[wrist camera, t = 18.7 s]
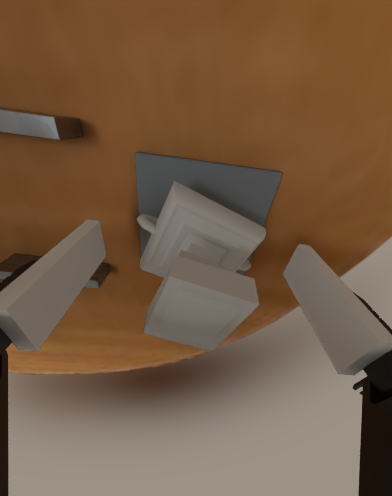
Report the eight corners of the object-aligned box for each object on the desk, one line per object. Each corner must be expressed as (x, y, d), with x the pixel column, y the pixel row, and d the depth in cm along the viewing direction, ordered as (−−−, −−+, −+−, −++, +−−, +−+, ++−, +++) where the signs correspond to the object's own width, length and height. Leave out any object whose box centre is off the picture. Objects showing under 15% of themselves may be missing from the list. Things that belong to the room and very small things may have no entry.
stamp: (268, 218, 14) (334, 309, 7) (224, 274, 18) (239, 372, 11) (161, 162, 12) (107, 213, 5) (134, 238, 15) (80, 330, 8)
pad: (143, 264, 18) (142, 268, 17) (137, 151, 12) (134, 152, 12) (242, 274, 18) (243, 278, 18) (279, 171, 13) (282, 172, 12)
